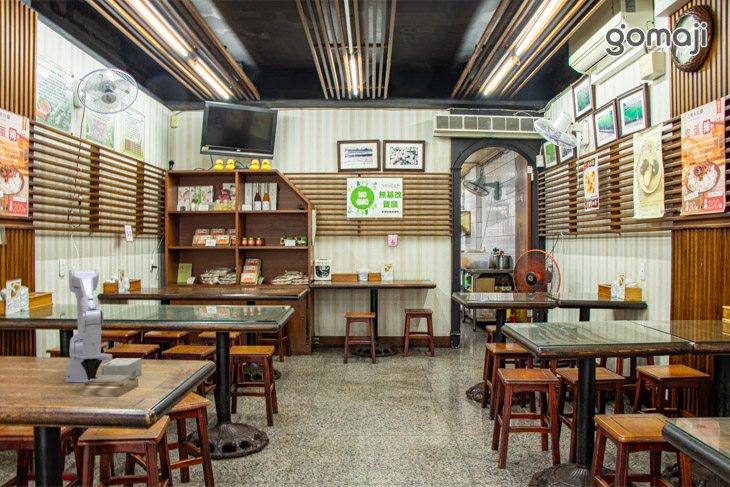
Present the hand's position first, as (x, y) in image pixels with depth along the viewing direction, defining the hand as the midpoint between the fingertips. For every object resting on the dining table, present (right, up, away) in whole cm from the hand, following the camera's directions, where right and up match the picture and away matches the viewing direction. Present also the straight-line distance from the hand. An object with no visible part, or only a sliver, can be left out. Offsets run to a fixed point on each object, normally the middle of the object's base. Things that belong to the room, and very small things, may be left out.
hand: (91, 379), depth 161 cm
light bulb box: (+8, -1, +15) cm, 17 cm away
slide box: (+7, -4, 0) cm, 8 cm away
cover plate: (+7, -1, 0) cm, 7 cm away
